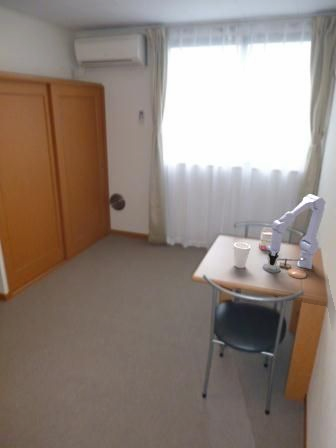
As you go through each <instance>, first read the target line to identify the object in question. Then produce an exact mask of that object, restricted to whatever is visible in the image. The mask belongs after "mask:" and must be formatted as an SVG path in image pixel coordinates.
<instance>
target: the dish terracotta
mask: <svg viewBox="0 0 336 448" xmlns="http://www.w3.org/2000/svg"><path fill="white" fill-rule="evenodd" d="M286 273H287V275H288V276H290V277H292V278H294V277H295V279H304V278H306V276H307V273H306V272H305V271H303V270H301V269H300V268H299V269H298V268H290V269H287V272H286Z"/></svg>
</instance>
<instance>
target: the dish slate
mask: <svg viewBox="0 0 336 448" xmlns="http://www.w3.org/2000/svg"><path fill="white" fill-rule="evenodd" d="M267 266H268V263H264V264H263V265H262V269H263V270H264V271H265V272H268V273H272V274H273V273H274V274H277V273H278V274H279V273H280V272H281V267H279V266H280V265H278V264H276V269H275V270H274V269H269V268H267Z"/></svg>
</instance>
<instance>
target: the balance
mask: <svg viewBox="0 0 336 448" xmlns="http://www.w3.org/2000/svg"><path fill="white" fill-rule="evenodd" d="M266 259H267V261H268V260H269V256H268V257H267V258H266ZM304 260H306V258H304V257H300V256H299V257H298V258H285V257H284V258H277V261H280V262H279V265H278V266H279V267H280V268H282V269H287V270H289V269H291V264H290V263H287V261H288V262H290V261H295V262H296V261H297V262H298V261H304ZM281 261H284V262H281Z"/></svg>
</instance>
